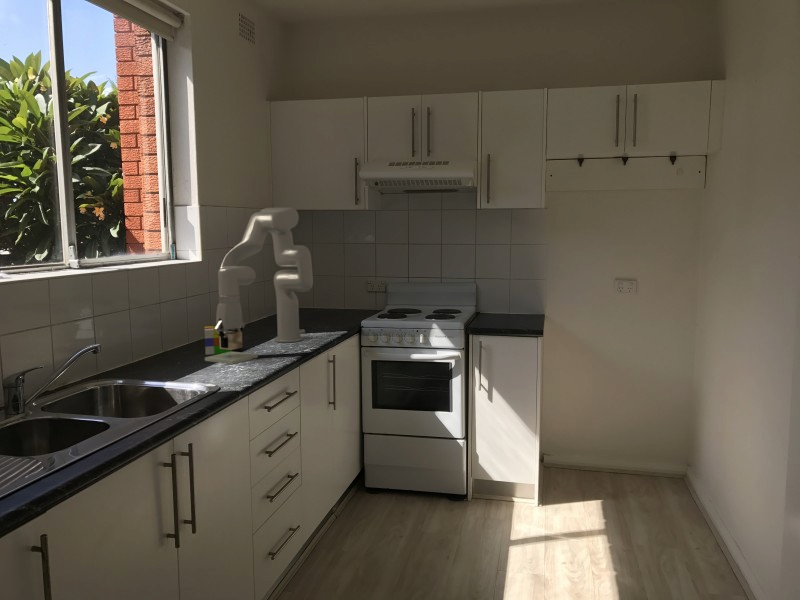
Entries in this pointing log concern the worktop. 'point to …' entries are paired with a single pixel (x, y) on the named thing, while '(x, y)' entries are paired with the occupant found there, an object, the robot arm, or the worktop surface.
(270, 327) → the worktop surface
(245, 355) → the plate
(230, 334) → the cube
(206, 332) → the toy
